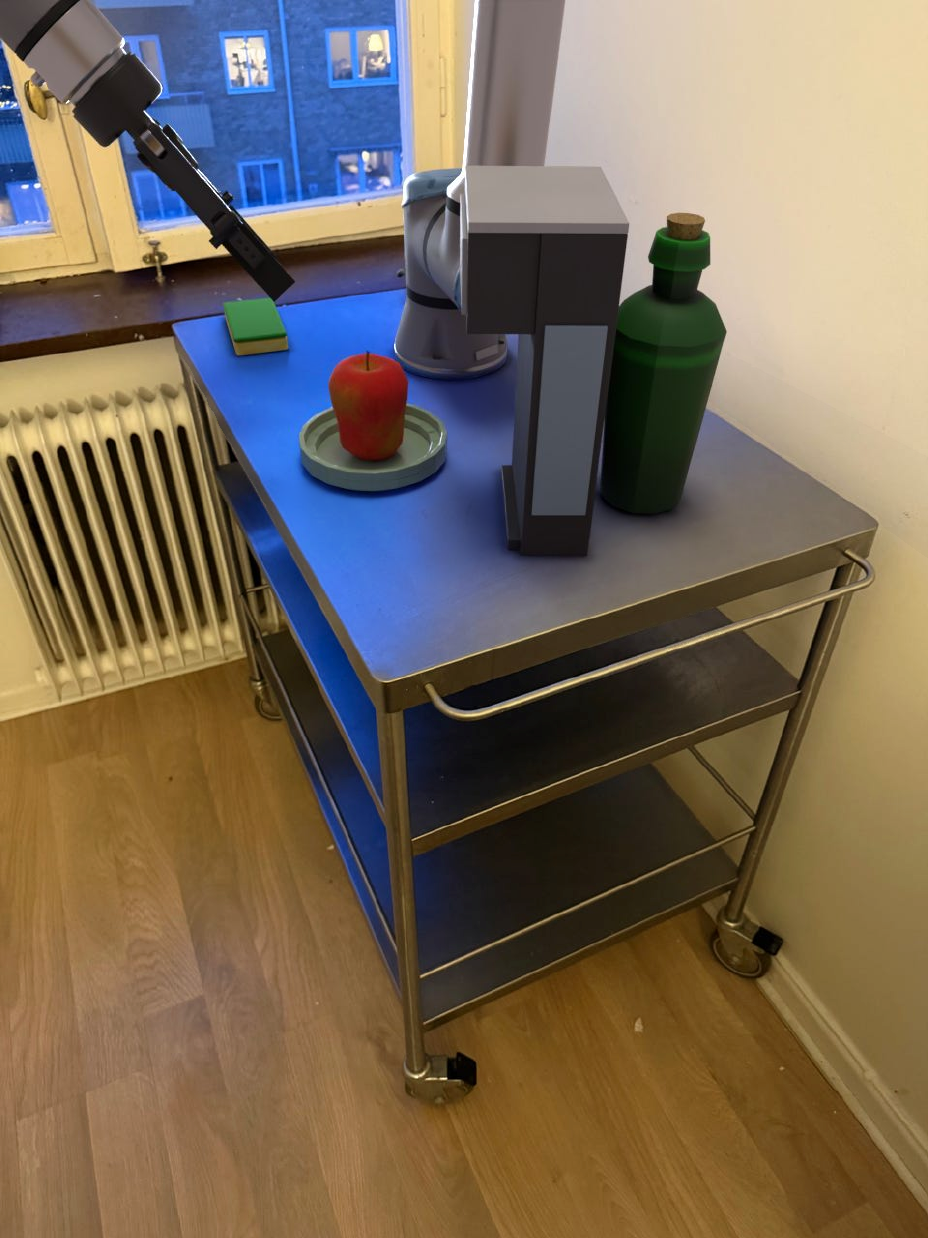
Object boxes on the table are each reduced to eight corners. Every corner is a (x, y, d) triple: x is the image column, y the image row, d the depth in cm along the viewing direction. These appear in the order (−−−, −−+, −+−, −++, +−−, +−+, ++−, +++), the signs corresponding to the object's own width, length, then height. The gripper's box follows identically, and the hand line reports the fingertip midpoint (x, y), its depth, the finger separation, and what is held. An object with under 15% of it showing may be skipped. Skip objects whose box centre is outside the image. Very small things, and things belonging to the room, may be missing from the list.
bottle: (696, 479, 96) (755, 207, 78) (682, 532, 89) (743, 244, 70) (601, 461, 99) (635, 195, 81) (578, 511, 91) (611, 229, 73)
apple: (326, 440, 100) (316, 340, 93) (396, 427, 103) (392, 329, 95) (347, 477, 94) (338, 374, 87) (421, 463, 97) (418, 361, 89)
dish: (280, 444, 101) (276, 420, 99) (404, 411, 107) (403, 388, 105) (339, 512, 91) (336, 488, 89) (473, 471, 97) (473, 447, 95)
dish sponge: (236, 356, 119) (233, 339, 117) (225, 317, 129) (222, 301, 127) (289, 350, 120) (287, 333, 119) (274, 312, 130) (272, 296, 129)
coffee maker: (459, 558, 85) (463, 223, 65) (458, 469, 97) (460, 165, 77) (587, 558, 85) (630, 224, 65) (569, 469, 98) (601, 166, 77)
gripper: (77, 106, 85) (237, 280, 97) (54, 114, 65) (261, 333, 77) (131, 50, 84) (286, 233, 96) (126, 40, 64) (324, 273, 76)
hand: (275, 278), depth 87 cm, fingers open, 13 cm apart
